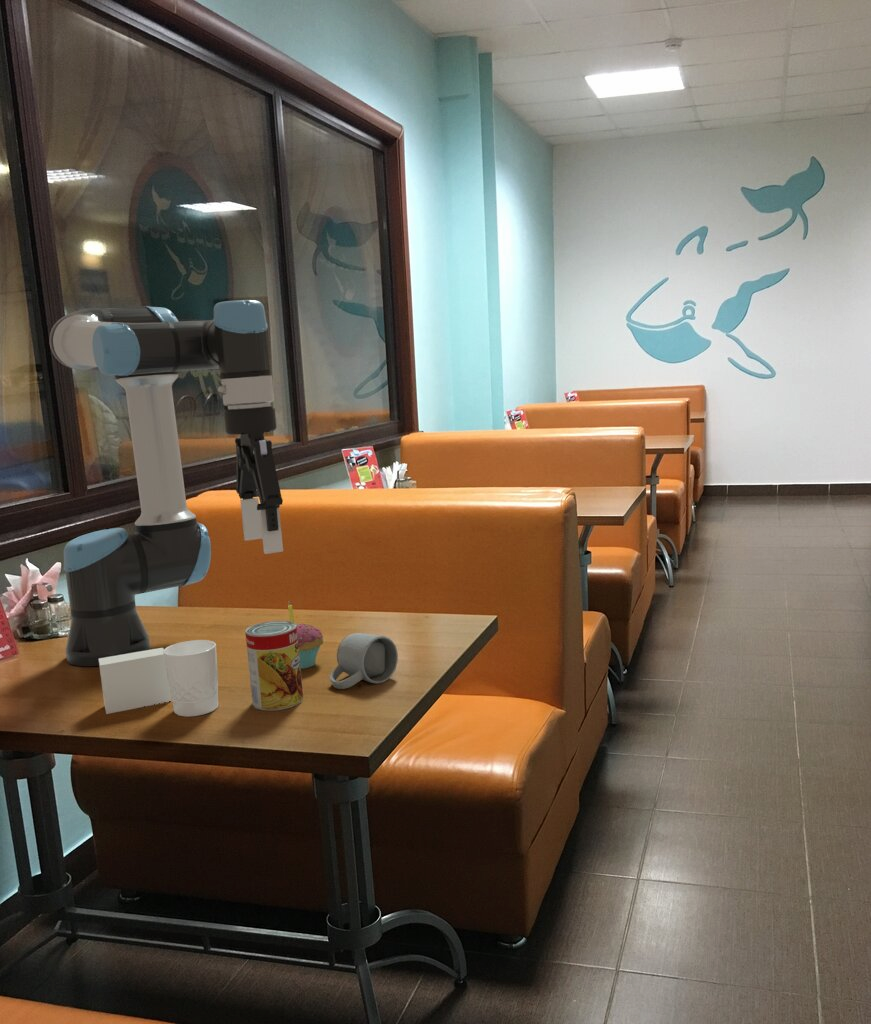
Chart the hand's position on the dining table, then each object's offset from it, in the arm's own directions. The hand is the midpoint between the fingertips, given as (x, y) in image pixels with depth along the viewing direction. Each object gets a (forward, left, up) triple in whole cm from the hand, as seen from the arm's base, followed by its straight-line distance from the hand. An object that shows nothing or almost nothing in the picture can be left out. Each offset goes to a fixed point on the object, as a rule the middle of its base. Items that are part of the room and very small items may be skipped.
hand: (263, 545), depth 145 cm
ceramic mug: (-2, +15, -25) cm, 29 cm away
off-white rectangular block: (-12, -20, -25) cm, 34 cm away
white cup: (-4, -12, -25) cm, 28 cm away
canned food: (0, 0, -25) cm, 25 cm away
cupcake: (-16, +8, -25) cm, 31 cm away
